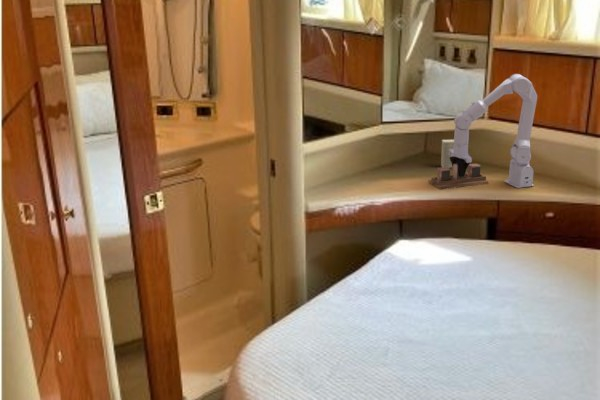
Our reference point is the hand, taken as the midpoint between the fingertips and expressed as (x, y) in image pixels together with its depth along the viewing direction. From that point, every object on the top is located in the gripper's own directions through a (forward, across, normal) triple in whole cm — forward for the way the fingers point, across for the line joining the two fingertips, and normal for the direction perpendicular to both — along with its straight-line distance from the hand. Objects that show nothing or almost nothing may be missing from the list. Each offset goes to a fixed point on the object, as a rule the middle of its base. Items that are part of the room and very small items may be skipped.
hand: (458, 175), depth 242 cm
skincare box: (+4, -23, +8) cm, 25 cm away
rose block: (+2, 0, 0) cm, 2 cm away
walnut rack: (+3, 0, 0) cm, 3 cm away
